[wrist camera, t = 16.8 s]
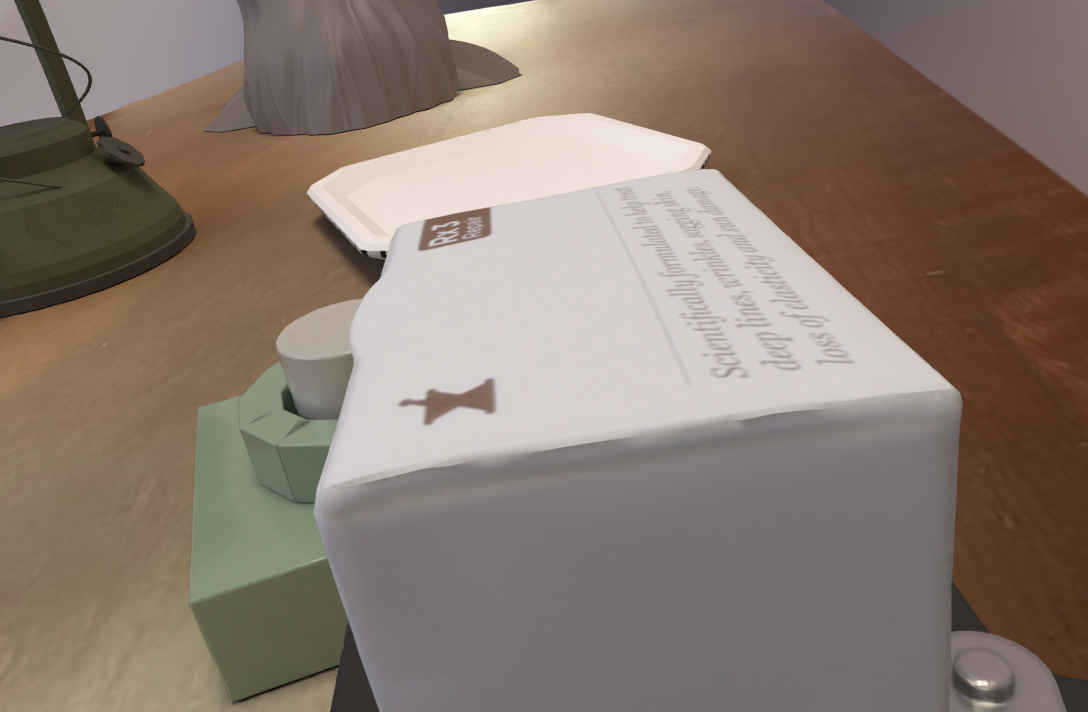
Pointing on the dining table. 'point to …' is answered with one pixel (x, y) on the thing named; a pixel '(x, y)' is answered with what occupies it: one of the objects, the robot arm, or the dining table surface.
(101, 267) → the lantern
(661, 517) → the cosmetic box
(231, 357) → the dining table surface
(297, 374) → the white cylinder
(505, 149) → the plate
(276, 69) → the bust
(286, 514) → the green base with knob
